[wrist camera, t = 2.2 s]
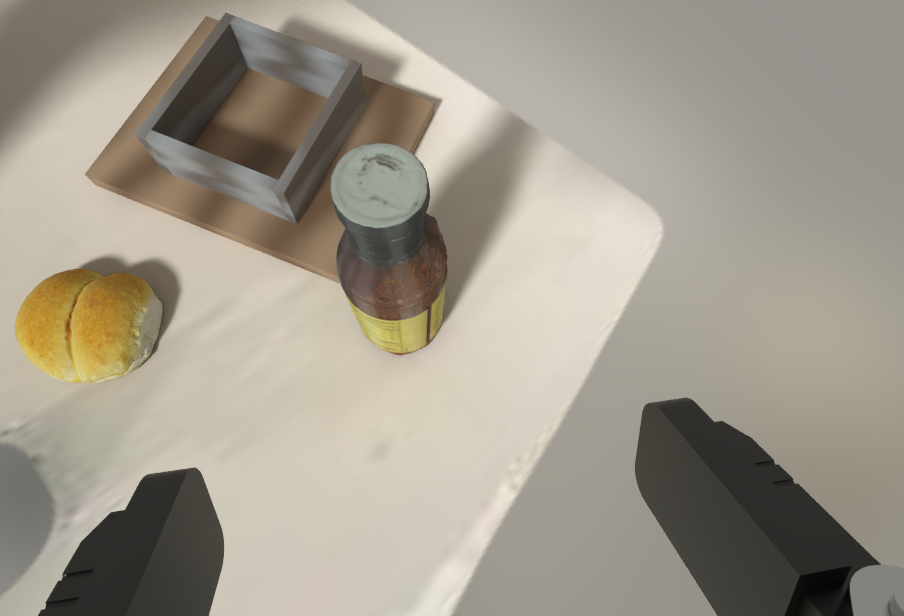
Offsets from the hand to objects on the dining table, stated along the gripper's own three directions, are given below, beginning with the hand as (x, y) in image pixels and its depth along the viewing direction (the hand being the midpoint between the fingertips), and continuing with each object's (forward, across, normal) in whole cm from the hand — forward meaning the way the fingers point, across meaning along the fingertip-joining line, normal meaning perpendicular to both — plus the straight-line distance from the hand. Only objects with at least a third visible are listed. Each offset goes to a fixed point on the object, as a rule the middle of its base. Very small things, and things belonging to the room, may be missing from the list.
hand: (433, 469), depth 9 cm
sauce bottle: (+28, 0, +12) cm, 30 cm away
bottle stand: (+40, +9, 0) cm, 41 cm away
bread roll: (+30, +22, +10) cm, 38 cm away
